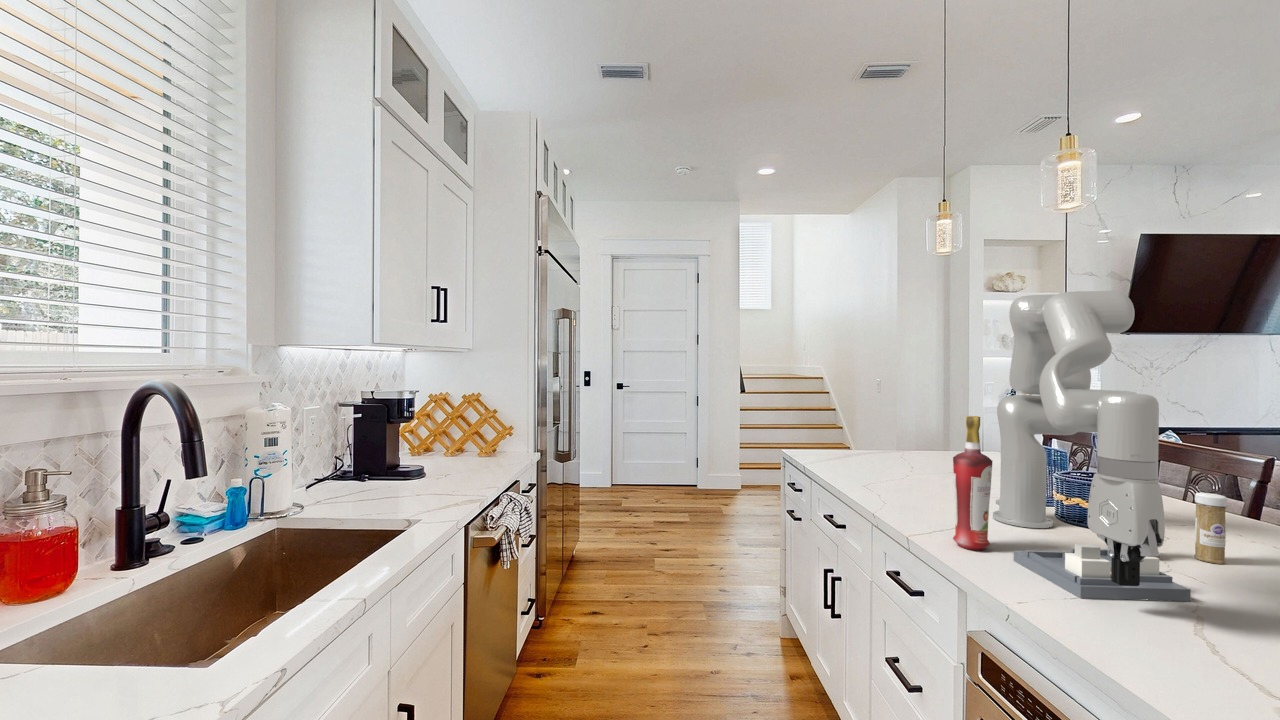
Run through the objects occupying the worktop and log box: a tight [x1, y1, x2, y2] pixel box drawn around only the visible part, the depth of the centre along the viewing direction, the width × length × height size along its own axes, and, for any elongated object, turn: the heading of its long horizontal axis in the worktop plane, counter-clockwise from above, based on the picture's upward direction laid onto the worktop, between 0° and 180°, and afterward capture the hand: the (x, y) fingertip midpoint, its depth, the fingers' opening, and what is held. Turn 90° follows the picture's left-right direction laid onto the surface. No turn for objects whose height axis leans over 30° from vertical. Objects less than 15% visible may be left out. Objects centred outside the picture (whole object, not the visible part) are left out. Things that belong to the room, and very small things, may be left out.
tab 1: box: [1065, 543, 1110, 578], centre depth 99 cm, size 4×5×6 cm
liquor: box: [952, 415, 993, 551], centre depth 122 cm, size 7×7×28 cm
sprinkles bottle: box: [1193, 492, 1228, 565], centre depth 115 cm, size 5×5×14 cm
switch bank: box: [1013, 547, 1192, 602], centre depth 104 cm, size 18×18×3 cm
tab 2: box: [1131, 548, 1160, 575], centre depth 101 cm, size 4×5×6 cm
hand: (1125, 583), depth 91 cm, fingers closed
